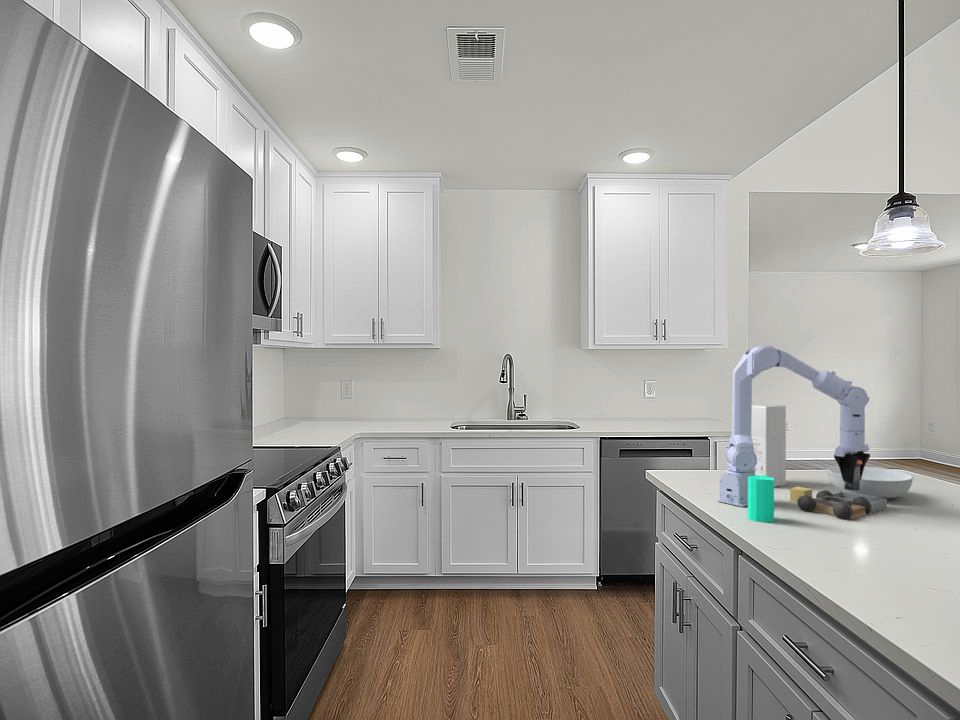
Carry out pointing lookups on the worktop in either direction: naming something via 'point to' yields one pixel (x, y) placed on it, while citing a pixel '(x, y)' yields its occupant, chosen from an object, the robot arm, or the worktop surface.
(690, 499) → the worktop surface
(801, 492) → the yellow cube
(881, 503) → the tray
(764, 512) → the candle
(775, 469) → the tall white carton
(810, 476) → the worktop surface
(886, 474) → the serving bowl
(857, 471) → the pin
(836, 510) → the trolley
